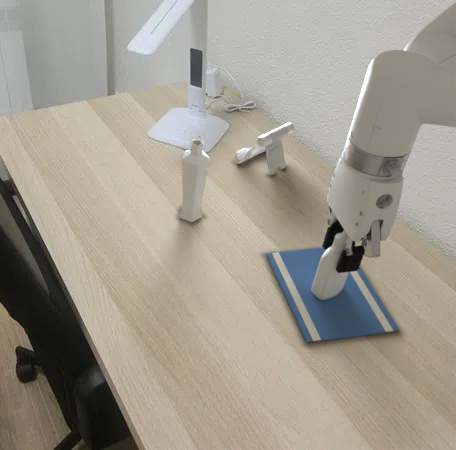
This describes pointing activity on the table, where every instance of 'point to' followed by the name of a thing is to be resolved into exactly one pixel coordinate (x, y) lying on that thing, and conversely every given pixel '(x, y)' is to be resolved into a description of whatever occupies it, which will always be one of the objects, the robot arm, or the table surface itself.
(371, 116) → the robot arm
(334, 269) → the eye dropper bottle
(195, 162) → the perfume bottle
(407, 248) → the table surface
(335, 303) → the towel
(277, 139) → the tablet stand
